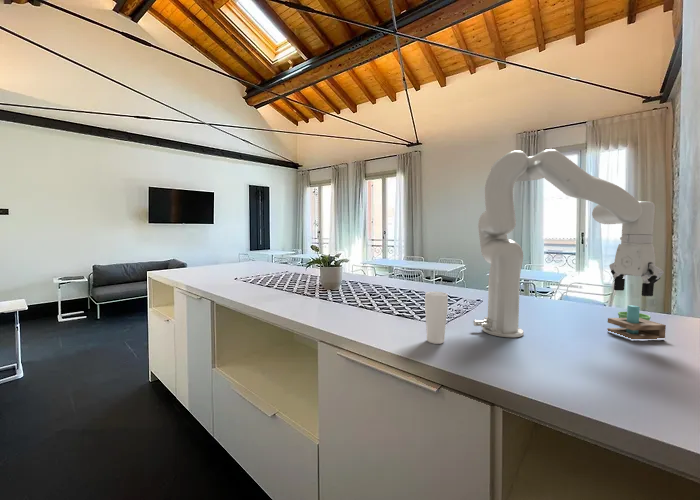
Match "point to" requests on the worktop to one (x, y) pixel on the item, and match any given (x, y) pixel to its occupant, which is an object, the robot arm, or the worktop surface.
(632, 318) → the peg
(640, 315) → the ramekin
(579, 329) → the worktop surface
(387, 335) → the worktop surface
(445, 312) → the drinking glass
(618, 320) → the block
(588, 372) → the worktop surface
